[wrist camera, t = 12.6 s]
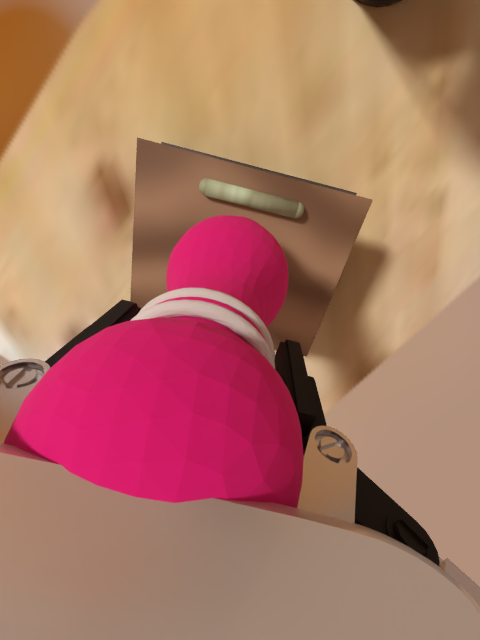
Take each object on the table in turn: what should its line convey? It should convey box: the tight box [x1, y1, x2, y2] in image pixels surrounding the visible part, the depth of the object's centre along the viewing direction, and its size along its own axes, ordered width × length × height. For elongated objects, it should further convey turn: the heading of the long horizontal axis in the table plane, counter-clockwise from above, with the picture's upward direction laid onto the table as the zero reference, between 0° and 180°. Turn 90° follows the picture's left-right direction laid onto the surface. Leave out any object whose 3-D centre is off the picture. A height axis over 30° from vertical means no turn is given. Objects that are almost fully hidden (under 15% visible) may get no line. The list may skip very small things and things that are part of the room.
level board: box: [130, 138, 372, 356], centre depth 23 cm, size 15×18×2 cm
